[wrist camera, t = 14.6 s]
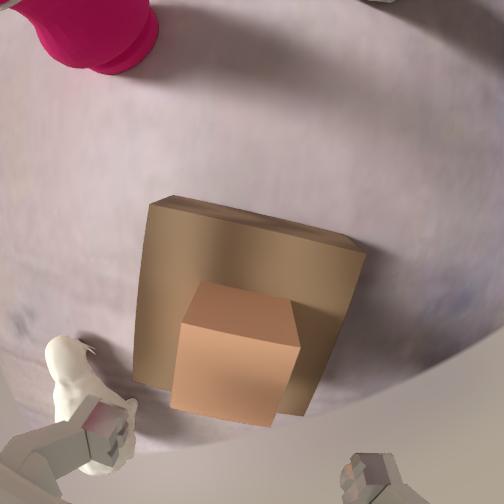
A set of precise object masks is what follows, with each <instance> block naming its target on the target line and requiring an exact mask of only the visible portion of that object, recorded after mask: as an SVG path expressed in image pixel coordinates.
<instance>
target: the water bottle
mask: <svg viewBox="0 0 504 504" xmlns="http://www.w3.org/2000/svg"><path fill="white" fill-rule="evenodd" d="M368 1H378V2H388V3H391V2H393V1H395V0H368Z"/></svg>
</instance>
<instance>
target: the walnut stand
mask: <svg viewBox="0 0 504 504" xmlns="http://www.w3.org/2000/svg"><path fill="white" fill-rule="evenodd" d="M365 257H366V253H365V252H364V251H362V250H361V249H360V248H359V247H358V246H357V245H356V244H354V243H353V242H352V241H351V240H350V239H349V238H347V237H346V236H345V235H344V234H340V233H336V232H332V231H328V230H324V229H320V228H316V227H312V226H308V225H304V224H300V223H296V222H292V221H287V220H283V219H279V218H275V217H270V216H266V215H262V214H258V213H253V212H249V211H244V210H240V209H236V208H231V207H227V206H222V205H218V204H213V203H208V202H204V201H199V200H194V199H190V198H185V197H180V196H175V195H172V196H169V197H167V198H164V199H161V200H159V201H156V202H154V203H151V204H149V211H148V217H147V223H146V230H145V237H144V244H143V252H142V260H141V268H140V277H139V287H138V297H137V308H136V320H135V335H134V352H133V378H132V381H135V382H139V383H142V384H146V385H149V386H152V387H156V388H160V389H163V390H167V391H171V392H172V388H173V380H174V372H175V365H176V357H177V350H178V343H179V336H180V329H181V323H182V320H183V318H184V316H185V314H186V312H187V310H188V308H189V305H190V303H191V301H192V299H193V297H194V295H195V293H196V291H197V288H198V286H199V284H200V282H201V280H202V281H207V282H211V283H215V284H220V285H224V286H229V287H233V288H237V289H242V290H246V291H251V292H256V293H260V294H265V295H270V296H274V297H279V298H284V299H289V300H290V301H291V306H292V310H293V314H294V319H295V324H296V328H297V333H298V337H299V342H300V347H301V348H300V351H299V354H298V357H297V360H296V362H295V365H294V368H293V370H292V373H291V376H290V379H289V381H288V384H287V386H286V389H285V392H284V394H283V397H282V399H281V402H280V405H279V407H278V410H277V412H276V413H282V414H289V415H297V416H304V414H305V412H306V410H307V408H308V406H309V403H310V401H311V399H312V397H313V395H314V392H315V390H316V388H317V385H318V383H319V381H320V379H321V376H322V374H323V371H324V369H325V367H326V364H327V362H328V359H329V357H330V354H331V352H332V350H333V347H334V344H335V342H336V339H337V337H338V334H339V332H340V329H341V326H342V324H343V321H344V318H345V316H346V313H347V310H348V307H349V305H350V302H351V299H352V296H353V293H354V290H355V287H356V284H357V281H358V278H359V275H360V272H361V269H362V266H363V263H364V260H365Z"/></svg>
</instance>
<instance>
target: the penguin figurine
mask: <svg viewBox="0 0 504 504" xmlns="http://www.w3.org/2000/svg"><path fill="white" fill-rule="evenodd" d="M89 347H90V348H92V349H95V348H93V347H91V346H89V345H87V344H84V343H82V342H80V341H79V339H77V338H71V337H69V336H67V335H59V336H56V337H55V338H53V339H52V340H51V341H50V342H49V343H48V345H47V346H46V350H45V358H46V362H47V366H48V369H49V371H50V374H51V376H52V377H53V379H54V380H55V382H56V385H55V390H54V393H53V399H54V403H55V409H56V410H55V423H57V422H60V421H63V420H65V421H67V422H68V420H69V419H70V418H71V416H72V415H73V413H74V412H75V411H76V409H77V408H78V406H79V405H80V404H81V402H82V401H83V399H84V398H85V397H86V396H87V395H89V394H91V395H93V396H96V397H98V398H101V399H103V400H106V401H108V402H110V403H113V404H115V405H118V406H121V407H123V408H126V409H128V415H129V416H128V418H127V420H126V421H127V422H128V424H129V430H128V436H127V439H126V442H125V444H124V446H123V447H121V448H119V456H118V458H117V460H116V462H115V465H114V467H113V468H112V467H109V466H106V465H104V464H101V463H98V462H96V461H93V460H91V461H90V462H88V463H86V464H84V465H83V466H81V467H79V469H80V470H81V471H83V472H84V473H86V474H89V475H103V474H110V473H113V472H115V471H118V470H119V469H120V468H121V467H122V466H123V465H124V464H125V463H126V461H127V460H129V459H131V458H133V457H134V449H135V444H136V437H135V435H134V433H133V431H134V425H135V414H136V410H137V407H138V403H137V400H136V399H134V398H131V399H128V400H126V401H125V400H124V399H122V398H121V397H120V396H119V395H118V394H116V393H115V392H114V391H112V390H111V389H109V388H107V387H106V386H105V385H104V383H103V381H102V380H101V379H100V378H99V377H98V376H96V375H95V374H94V373H93V371H92V369H91V368H90V366H89V364H88V362H87V359H86V354H85V353H86V352H87V351H86V350H90V351H91V352H92V353H94V352H93V351H92V350H91V349H90V348H89ZM95 350H96V349H95ZM94 354H95V353H94ZM88 355H89V354H88ZM95 355H96V354H95ZM89 356H90V355H89Z"/></svg>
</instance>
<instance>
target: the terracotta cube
mask: <svg viewBox="0 0 504 504" xmlns="http://www.w3.org/2000/svg"><path fill="white" fill-rule="evenodd" d="M300 348H301V347H300V342H299V337H298V333H297V328H296V324H295V319H294V314H293V310H292V306H291V301H290V300H289V299H284V298H279V297H274V296H270V295H265V294H260V293H256V292H251V291H246V290H242V289H237V288H233V287H229V286H224V285H220V284H215V283H211V282H207V281H202V280H201V282H200V284H199V286H198V288H197V291H196V293H195V295H194V297H193V299H192V301H191V303H190V305H189V308H188V310H187V312H186V314H185V316H184V318H183V320H182V323H181V329H180V336H179V343H178V350H177V357H176V365H175V372H174V380H173V388H172V396H171V405H170V408H174V409H178V410H182V411H186V412H190V413H194V414H199V415H203V416H208V417H212V418H217V419H222V420H228V421H233V422H238V423H244V424H250V425H256V426H263V427H271V424H272V422H273V420H274V417H275V415H276V412H277V410H278V407H279V405H280V402H281V399H282V397H283V394H284V392H285V389H286V386H287V384H288V381H289V379H290V376H291V373H292V370H293V368H294V365H295V362H296V360H297V357H298V354H299V351H300Z"/></svg>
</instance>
